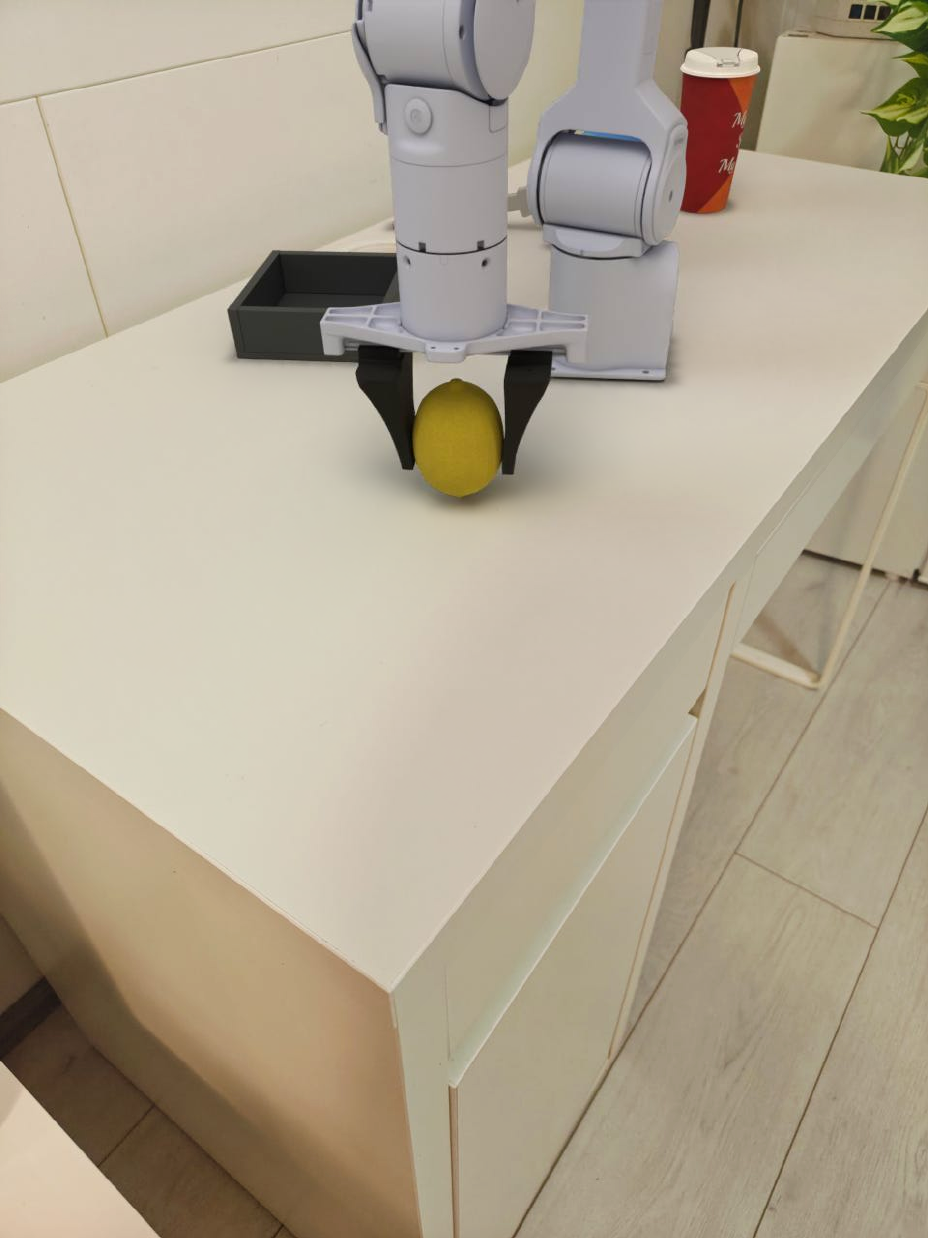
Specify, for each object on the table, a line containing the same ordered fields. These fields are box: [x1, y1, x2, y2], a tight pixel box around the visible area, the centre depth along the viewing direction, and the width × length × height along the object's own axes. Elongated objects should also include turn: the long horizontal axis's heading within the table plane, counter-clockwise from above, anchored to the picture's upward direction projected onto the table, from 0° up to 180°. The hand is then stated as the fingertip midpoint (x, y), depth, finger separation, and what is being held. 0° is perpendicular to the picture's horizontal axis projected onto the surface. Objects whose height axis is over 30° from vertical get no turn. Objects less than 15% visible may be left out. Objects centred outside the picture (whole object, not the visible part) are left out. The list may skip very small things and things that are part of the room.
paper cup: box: [679, 46, 761, 214], centre depth 90 cm, size 8×8×14 cm
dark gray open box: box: [226, 249, 400, 363], centre depth 73 cm, size 13×13×4 cm
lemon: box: [412, 377, 505, 499], centre depth 53 cm, size 6×6×8 cm
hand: (458, 463), depth 54 cm, fingers closed on lemon, 5 cm apart
